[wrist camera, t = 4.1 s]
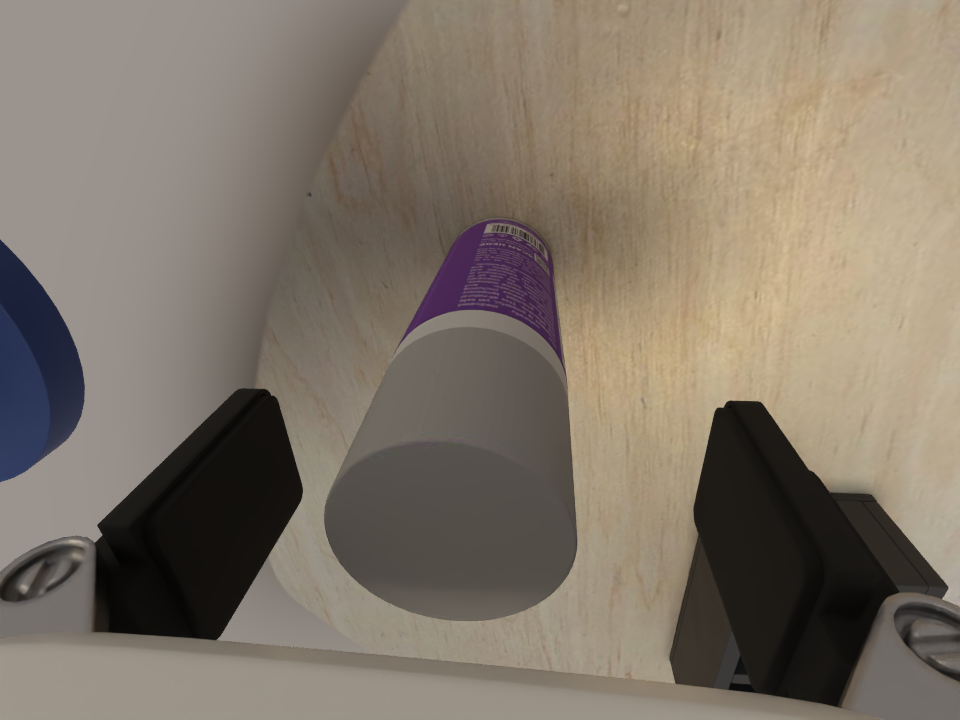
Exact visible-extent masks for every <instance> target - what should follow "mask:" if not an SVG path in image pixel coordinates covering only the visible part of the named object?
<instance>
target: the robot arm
mask: <svg viewBox="0 0 960 720" xmlns="http://www.w3.org/2000/svg"><path fill="white" fill-rule="evenodd" d="M302 494H303V487H302V483H301V479H300V476H299V472H298V469H297V465H296V462H295V458H294V455H293V451H292V448H291V444H290V441H289V437H288V434H287V430H286V427H285V423H284V420H283V416H282V413H281V409H280V406H279V402H278V400H277V398H276V397H275V396H271V394H270V392H269V391H268V390H266V389H238V390H237V391H235V392H234V393H233V394H232V395H231V396H230V397H229V398H228V399H227V400H226V401H225V402H224V403H223V404H222V405H221V406H220V407H219V408H218V409H217V410H216V411H215V412H214V413H213V414H211V415H210V416H209V417H208V418H207V419H206V420H205V421H204V422H203V423H202V424H201V425H200V426H199V427H198V428H197V429H196V430H195V431H194V432H193V433H192V434H191V435H190V436H189V437H188V438H187V439H186V440H185V441H184V442H183V443H182V444H181V445H179V447H177V448H176V449H175V450H174V451H173V452H172V453H171V454H170V455H169V456H168V457H167V458H166V459H165V460H164V461H163V462H162V463H161V464H160V465H159V466H158V467H157V468H156V469H155V470H154V471H153V472H152V473H151V474H149V475H148V476H147V477H146V478H145V479H144V480H143V481H142V482H141V483H140V484H139V485H138V486H137V487H136V488H135V489H134V490H133V491H132V492H131V493H130V494H129V495H128V496H127V497H126V498H125V499H124V500H123V501H122V502H121V503H120V504H118V505H117V506H116V507H115V508H114V509H113V510H112V511H111V512H110V513H109V514H108V515H107V516H106V517H105V518H104V519H103V520H102V521H101V522H100V523H99V524H98V525H97V526H98V528H99V529H100V531H101V533H102V537H100V538H99V539H98V541H96V542H95V543H94V542H93V541H92V540H90V539H89V538H87V537H81V536H71V537H63V538H59V539H57V540H53V541H49V542H47V543H44V544H42V545H40V546H38V547H36V548H33V549H31V550H30V551H28V552H26V553H25V554H23V555H21V556H20V557H18V558H17V559H15V560H14V561H13V562H11V563H10V564H9V565H8V566H6V567H5V568H4V569H3V570H2V571H1V572H0V720H960V607H959V606H957V605H954V604H952V603H949V602H947V601H944V600H942V599H940V598H937V597H934V596H929V595H925V594H920V593H900V591H899V590H898V588H897V587H896V586H895V584H894V583H893V581H892V580H891V579H890V577H889V576H888V574H887V573H886V571H885V570H884V569H883V567H882V566H881V564H880V563H879V562H878V560H877V559H876V557H875V556H874V555H873V553H872V552H871V550H870V549H869V548H868V546H867V545H866V543H865V542H864V540H863V539H862V538H861V536H860V535H859V533H858V532H857V531H856V529H855V528H854V526H853V525H852V524H851V522H850V521H849V519H848V518H847V517H846V515H845V514H844V512H843V511H842V509H841V508H840V507H839V505H838V504H837V502H836V501H835V500H834V498H833V497H832V495H831V494H830V493H829V491H828V490H827V488H826V487H825V486H824V484H823V483H822V481H821V480H820V478H819V477H818V476H817V475H816V474H815V473H814V472H812V471H810V470H808V468H807V467H806V465H805V464H804V462H803V461H802V459H801V458H800V457H799V455H798V454H797V452H796V451H795V449H794V448H793V447H792V445H791V444H790V442H789V441H788V439H787V438H786V437H785V435H784V434H783V432H782V431H781V429H780V428H779V427H778V425H777V424H776V422H775V421H774V419H773V418H772V416H771V415H770V414H769V412H768V411H767V409H766V408H765V406H764V405H763V404H762V403H761V402H758V401H728V402H727V403H726V404H725V406H724V408H717V409H716V411H715V413H714V417H713V422H712V426H711V431H710V435H709V440H708V445H707V449H706V454H705V458H704V463H703V467H702V472H701V476H700V481H699V485H698V490H697V494H696V499H695V503H694V521H695V525H696V528H697V531H698V534H699V537H700V540H701V543H702V545H703V548H704V551H705V554H706V557H707V560H708V563H709V566H710V568H711V571H712V574H713V577H714V580H715V583H716V586H717V589H718V592H719V594H720V597H721V600H722V603H723V606H724V609H725V612H726V615H727V617H728V620H729V623H730V626H731V629H732V632H733V635H734V638H735V640H736V643H737V646H738V649H739V652H740V655H741V658H742V661H743V664H744V666H745V669H746V672H747V675H748V678H749V681H750V683H751V686H752V688H753V689H754V691H755V692H757V693H749V692H741V691H732V690H724V689H715V688H706V687H698V686H689V685H681V684H672V683H663V682H655V681H645V680H635V679H624V678H614V677H604V676H594V675H584V674H574V673H564V672H554V671H543V670H533V669H523V668H513V667H503V666H493V665H482V664H471V663H461V662H450V661H439V660H429V659H418V658H408V657H397V656H386V655H375V654H364V653H353V652H342V651H332V650H320V649H309V648H297V647H286V646H275V645H264V644H252V643H240V642H229V641H218V640H217V639H218V638H219V637H220V636H221V634H222V633H223V631H224V629H225V628H226V626H227V624H228V623H229V621H230V619H231V618H232V616H233V614H234V612H235V611H236V609H237V608H238V606H239V604H240V603H241V601H242V599H243V598H244V596H245V594H246V592H247V591H248V589H249V587H250V585H251V584H252V582H253V581H254V579H255V577H256V576H257V574H258V572H259V571H260V569H261V567H262V566H263V564H264V562H265V561H266V559H267V557H268V556H269V554H270V552H271V551H272V549H273V547H274V546H275V544H276V542H277V541H278V539H279V537H280V535H281V534H282V532H283V530H284V529H285V527H286V525H287V524H288V522H289V520H290V519H291V517H292V515H293V514H294V512H295V510H296V509H297V507H298V505H299V504H300V501H301V499H302ZM758 693H763V694H758Z"/></svg>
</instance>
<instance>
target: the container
mask: <svg viewBox="0 0 960 720" xmlns="http://www.w3.org/2000/svg"><path fill="white" fill-rule="evenodd" d="M567 388H568V387H567V378H566V370H565V361H564V353H563V344H562V336H561V328H560V319H559V311H558V303H557V294H556V286H555V278H554V269H553V262H552V258H551V254H550V251H549V249H548V246H547V245H546V243H545V241H544V240H543V238H542V237H541V236H540V235H539V234H538V233H537V232H536V231H535V230H534V229H533V228H531V227H530V226H528V225H527V224H525V223H523V222H521V221H518V220H515V219H511V218H505V217H494V218H488V219H484V220H481V221H478V222H476V223H474V224H472V225H471V226H469V227H468V228H467V229H465V230H464V231H463V232H462V233H461V234H460V235H459V237H458V238H457V239H456V241H455V242H454V244H453V246H452V247H451V249H450V251H449V253H448V255H447V256H446V258H445V260H444V262H443V264H442V266H441V268H440V269H439V271H438V273H437V275H436V277H435V279H434V281H433V282H432V284H431V286H430V288H429V290H428V292H427V294H426V295H425V297H424V299H423V301H422V303H421V305H420V307H419V308H418V310H417V312H416V314H415V316H414V318H413V320H412V321H411V323H410V325H409V327H408V329H407V331H406V333H405V334H404V336H403V338H402V340H401V342H400V344H399V346H398V347H397V349H396V351H395V353H394V356H393V358H392V360H391V363H390V365H389V367H388V369H387V371H386V373H385V375H384V377H383V379H382V382H381V384H380V386H379V388H378V390H377V392H376V394H375V396H374V398H373V401H372V403H371V405H370V407H369V409H368V411H367V413H366V415H365V418H364V420H363V422H362V424H361V426H360V428H359V430H358V432H357V434H356V437H355V439H354V441H353V443H352V445H351V447H350V449H349V451H348V454H347V456H346V458H345V460H344V462H343V464H342V466H341V468H340V471H339V473H338V475H337V477H336V479H335V481H334V483H333V485H332V487H331V490H330V492H329V494H328V497H327V500H326V505H325V513H324V521H325V530H326V535H327V538H328V541H329V544H330V546H331V548H332V550H333V553H334V554H335V556H336V557H337V559H338V561H339V562H340V564H341V565H342V566H343V567H344V569H345V570H346V571H347V572H348V573H349V574H350V575H351V576H352V577H353V578H354V579H355V580H356V581H357V582H358V583H359V584H361V585H362V586H363V587H364V588H366V589H367V590H368V591H370V592H371V593H373V594H374V595H376V596H377V597H379V598H381V599H383V600H384V601H386V602H388V603H391V604H393V605H395V606H397V607H399V608H402V609H404V610H407V611H410V612H413V613H416V614H420V615H423V616H427V617H432V618H437V619H444V620H454V621H483V620H491V619H497V618H502V617H506V616H510V615H513V614H516V613H519V612H521V611H524V610H526V609H528V608H530V607H533V606H534V605H536V604H538V603H540V602H541V601H543V600H544V599H546V598H547V597H548V596H550V595H551V594H552V593H553V592H554V591H555V590H556V589H557V588H558V587H559V586H560V585H561V584H562V582H563V581H564V580H565V578H566V577H567V575H568V574H569V572H570V570H571V568H572V565H573V563H574V560H575V556H576V551H577V527H576V512H575V497H574V482H573V467H572V452H571V437H570V422H569V407H568V391H567Z"/></svg>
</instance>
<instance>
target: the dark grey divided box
mask: <svg viewBox="0 0 960 720" xmlns="http://www.w3.org/2000/svg"><path fill="white" fill-rule="evenodd" d="M831 495H832V497H833V498H834V500H835V501H836V502H837V504H838V505H839V507H840V508H841V509H842V511H843V512H844V514H845V515H846V517H847V518H848V519H849V521H850V522H851V524H852V525H853V526H854V528H855V529H856V531H857V532H858V533H859V535H860V536H861V538H862V539H863V540H864V542H865V543H866V545H867V546H868V548H869V549H870V550H871V552H872V553H873V555H874V556H875V557H876V559H877V560H878V562H879V563H880V564H881V566H882V567H883V569H884V570H885V571H886V573H887V574H888V576H889V577H890V579H891V580H892V581H893V583H894V584H895V586H896V587H897V588H898V590H899V591H900V593H920V594H925V595H929V596H934V597H937V598H940V599H942V598H943V597H944V595H945V593H946V592H947V590H948V586H947V585H946V583H945V582H944V581H943V580H942V579H941V577H940V576H939V575H938V574H937V573H936V571H935V570H934V569H933V568H932V567H931V566H930V564H929V563H928V562H927V561H926V560H925V558H924V557H923V556H922V555H921V554H920V552H919V551H918V550H917V549H916V548H915V547H914V545H913V544H912V543H911V542H910V541H909V539H908V538H907V537H906V536H905V535H904V533H903V532H902V531H901V530H900V529H899V528H898V526H897V525H896V524H895V523H894V522H893V520H892V519H891V518H890V517H889V516H888V514H887V513H886V512H885V511H884V510H883V509H882V507H881V506H880V505H879V504H878V503H877V501H876V500H875V499H874V497H873V496H872V495H858V494H831ZM670 662H671V667H672V671H673V675H674V679H675V683H676V684H681V685H689V686H698V687H706V688H715V689H724V690H732V691H741V692H749V693H757V692H755V691H754V689H753V688H752V686H751V683H750V681H749V678H748V675H747V672H746V669H745V666H744V664H743V661H742V658H741V655H740V652H739V649H738V646H737V643H736V640H735V638H734V635H733V632H732V629H731V626H730V623H729V620H728V617H727V615H726V612H725V609H724V606H723V603H722V600H721V597H720V594H719V592H718V589H717V586H716V583H715V580H714V577H713V574H712V571H711V568H710V566H709V563H708V560H707V557H706V554H705V551H704V548H703V545H702V543H701V540H700V537H699V536H698V541H697V545H696V549H695V553H694V558H693V562H692V566H691V570H690V575H689V579H688V583H687V587H686V592H685V596H684V600H683V604H682V609H681V613H680V617H679V621H678V626H677V630H676V634H675V638H674V643H673V647H672V651H671V655H670ZM758 694H763V693H758Z"/></svg>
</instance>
